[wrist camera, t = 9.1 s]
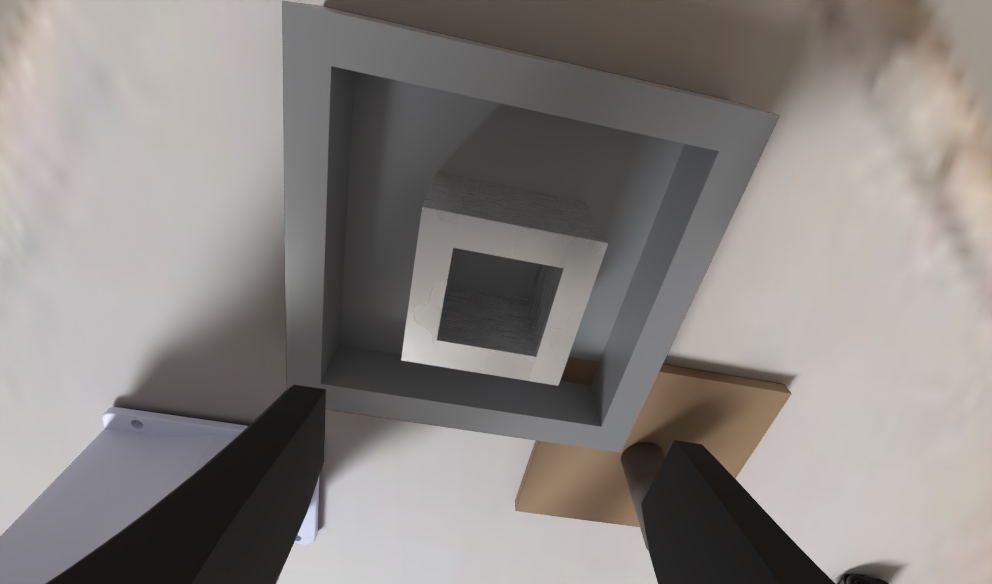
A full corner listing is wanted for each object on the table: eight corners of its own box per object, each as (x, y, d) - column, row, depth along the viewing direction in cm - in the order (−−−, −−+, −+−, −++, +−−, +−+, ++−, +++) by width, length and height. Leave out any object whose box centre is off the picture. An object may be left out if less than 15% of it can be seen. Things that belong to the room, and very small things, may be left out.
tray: (313, 354, 20) (286, 403, 18) (322, 5, 14) (282, 0, 11) (605, 401, 21) (620, 452, 19) (730, 101, 15) (779, 115, 13)
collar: (416, 303, 18) (401, 360, 15) (436, 171, 16) (422, 206, 13) (547, 326, 19) (558, 385, 16) (586, 201, 16) (608, 243, 13)
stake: (515, 500, 25) (519, 596, 21) (567, 347, 20) (586, 432, 16) (694, 524, 26) (732, 620, 22) (784, 384, 21) (856, 473, 17)
